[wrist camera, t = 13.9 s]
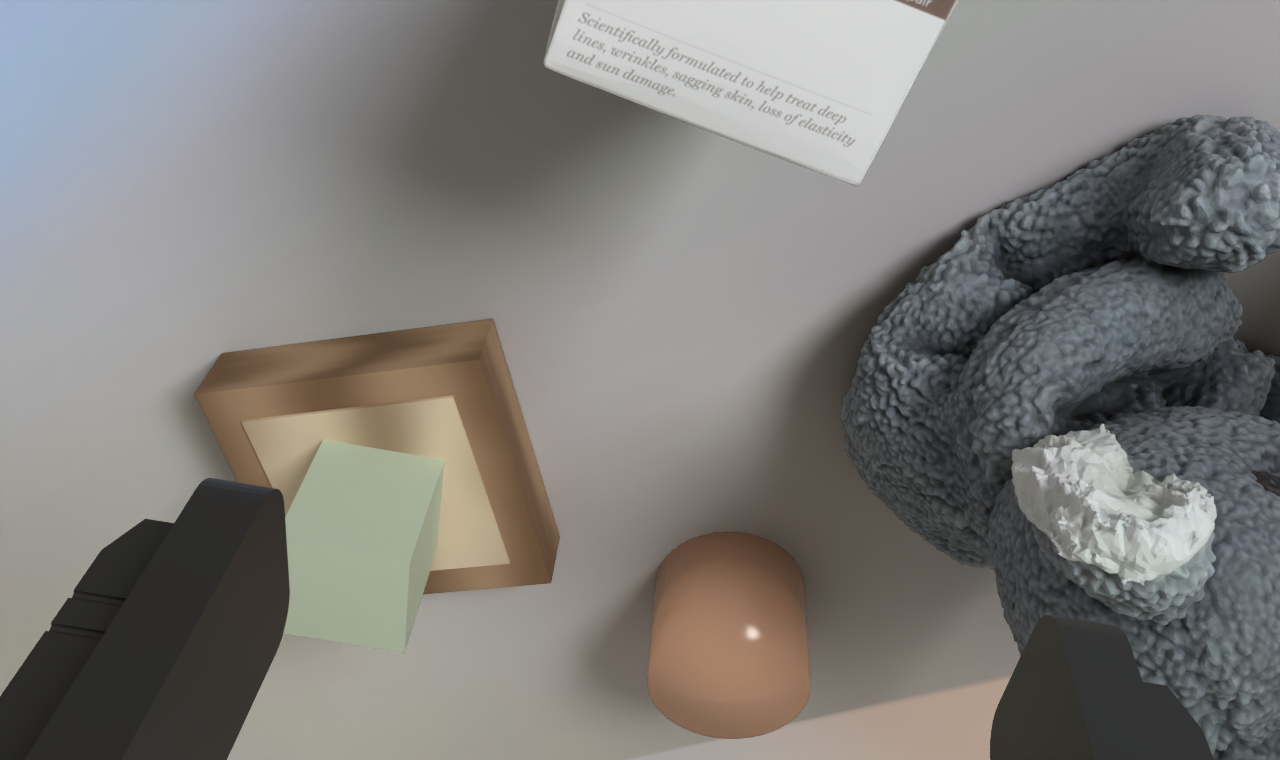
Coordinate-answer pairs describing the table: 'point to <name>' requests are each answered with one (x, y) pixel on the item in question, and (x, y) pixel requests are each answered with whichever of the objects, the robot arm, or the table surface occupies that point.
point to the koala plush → (1104, 415)
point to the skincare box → (758, 67)
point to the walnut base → (399, 435)
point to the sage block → (362, 544)
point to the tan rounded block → (729, 637)
